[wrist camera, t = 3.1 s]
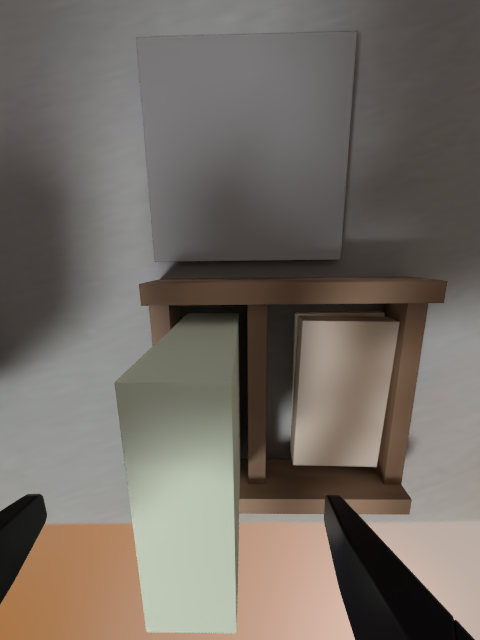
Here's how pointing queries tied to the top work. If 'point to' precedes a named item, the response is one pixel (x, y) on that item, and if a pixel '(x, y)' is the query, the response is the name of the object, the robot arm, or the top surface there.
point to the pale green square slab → (185, 473)
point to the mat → (247, 144)
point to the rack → (258, 472)
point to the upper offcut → (341, 389)
